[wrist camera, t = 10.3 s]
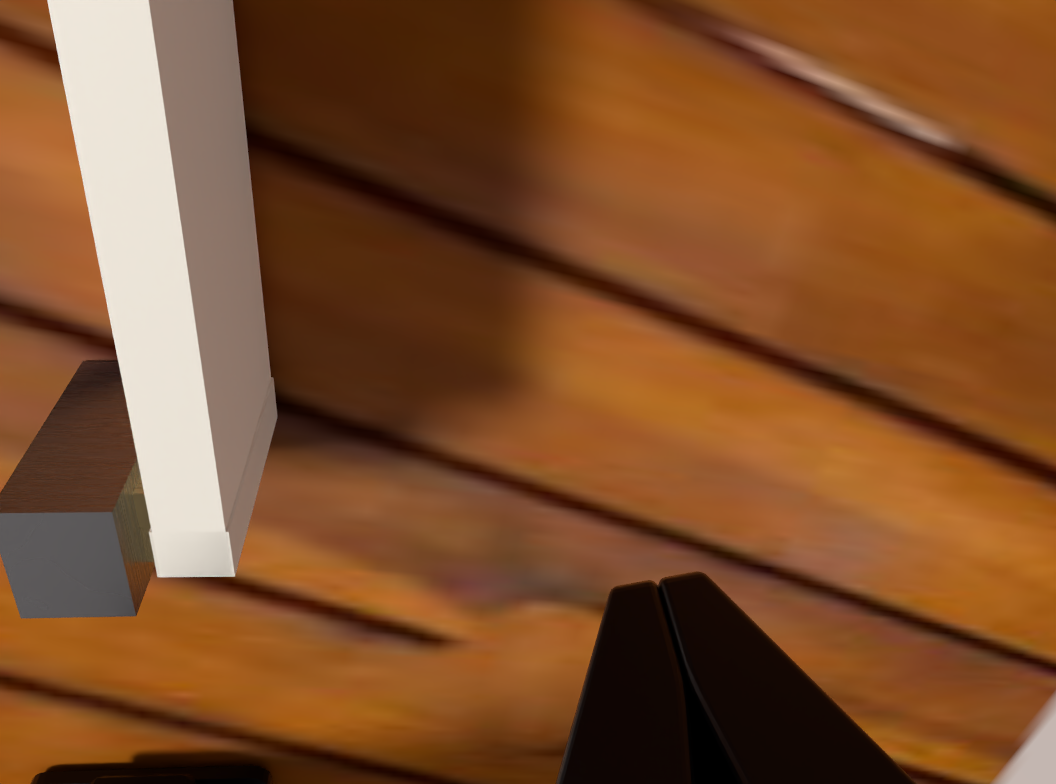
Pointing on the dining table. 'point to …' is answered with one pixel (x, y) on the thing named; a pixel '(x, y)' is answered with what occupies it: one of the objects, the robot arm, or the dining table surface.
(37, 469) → the post
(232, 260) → the long white bar
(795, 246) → the dining table surface
